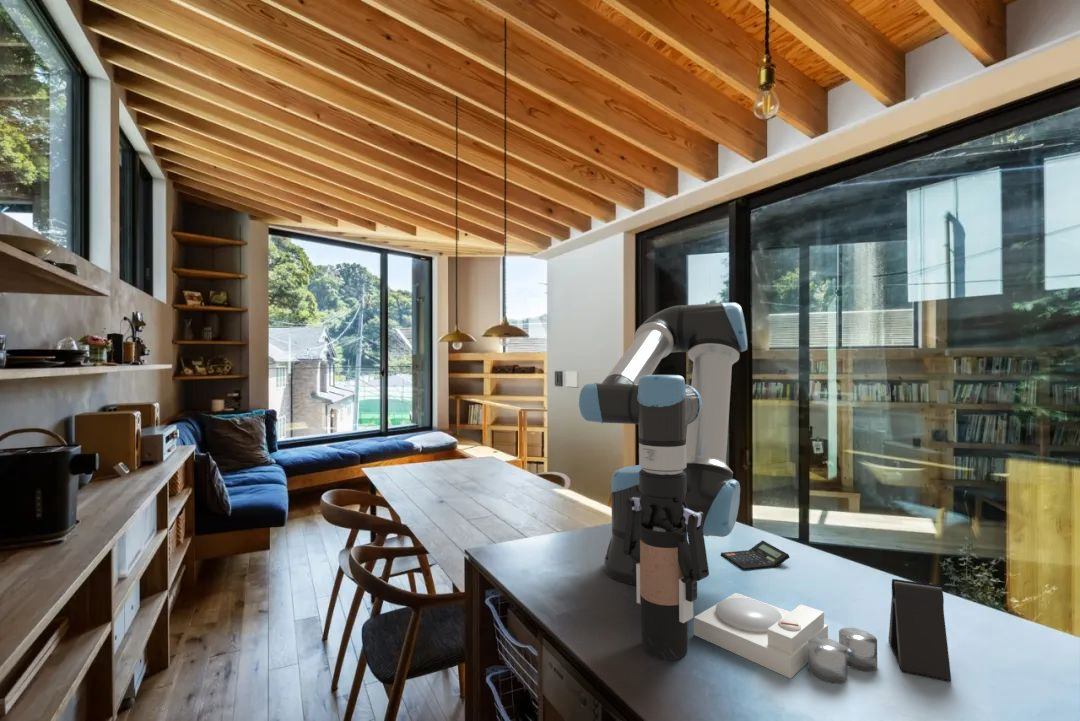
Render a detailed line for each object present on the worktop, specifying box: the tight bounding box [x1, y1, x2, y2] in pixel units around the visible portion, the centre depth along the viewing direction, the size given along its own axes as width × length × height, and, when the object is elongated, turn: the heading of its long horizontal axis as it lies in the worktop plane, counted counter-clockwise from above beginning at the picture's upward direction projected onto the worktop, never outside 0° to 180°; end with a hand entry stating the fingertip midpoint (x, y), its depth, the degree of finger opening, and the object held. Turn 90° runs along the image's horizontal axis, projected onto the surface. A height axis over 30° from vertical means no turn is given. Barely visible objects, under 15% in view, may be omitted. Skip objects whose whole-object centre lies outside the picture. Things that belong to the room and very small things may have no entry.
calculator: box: [720, 539, 791, 571], centre depth 119 cm, size 9×12×3 cm
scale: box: [693, 592, 829, 679], centre depth 85 cm, size 16×14×6 cm
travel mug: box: [640, 522, 689, 661], centre depth 83 cm, size 8×8×20 cm
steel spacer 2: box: [838, 627, 878, 673], centre depth 78 cm, size 5×5×4 cm
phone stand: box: [888, 578, 952, 683], centre depth 78 cm, size 9×6×12 cm, turn 155°
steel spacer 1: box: [807, 637, 848, 684], centre depth 76 cm, size 5×5×4 cm
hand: (664, 609), depth 83 cm, fingers closed on travel mug, 8 cm apart
